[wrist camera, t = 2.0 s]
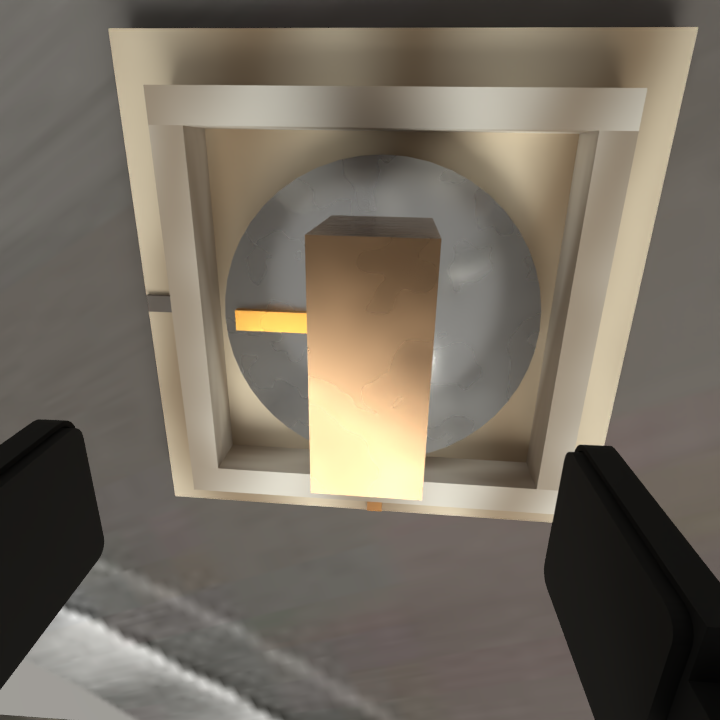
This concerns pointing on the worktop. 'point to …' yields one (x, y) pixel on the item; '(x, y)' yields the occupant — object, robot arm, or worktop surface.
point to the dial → (382, 316)
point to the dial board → (421, 141)
